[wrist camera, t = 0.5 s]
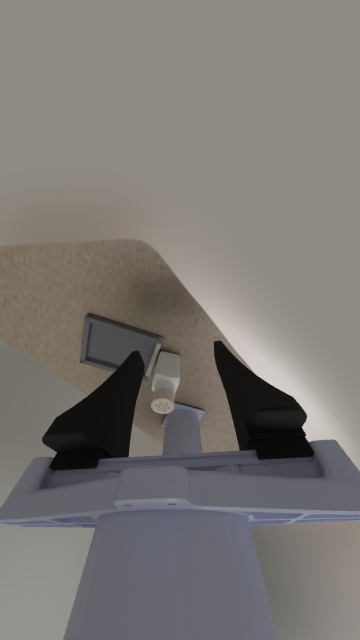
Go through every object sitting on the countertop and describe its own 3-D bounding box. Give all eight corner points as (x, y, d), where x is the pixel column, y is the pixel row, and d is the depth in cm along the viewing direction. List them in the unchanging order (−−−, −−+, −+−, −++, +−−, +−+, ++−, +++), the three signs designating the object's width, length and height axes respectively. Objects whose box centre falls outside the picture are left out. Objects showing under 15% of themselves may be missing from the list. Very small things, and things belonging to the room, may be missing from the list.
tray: (148, 376, 29) (147, 380, 28) (84, 358, 27) (79, 362, 26) (163, 337, 25) (162, 341, 24) (89, 313, 24) (84, 316, 22)
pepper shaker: (156, 365, 28) (145, 413, 19) (160, 349, 26) (150, 393, 18) (175, 369, 28) (173, 418, 20) (180, 353, 27) (181, 399, 18)
